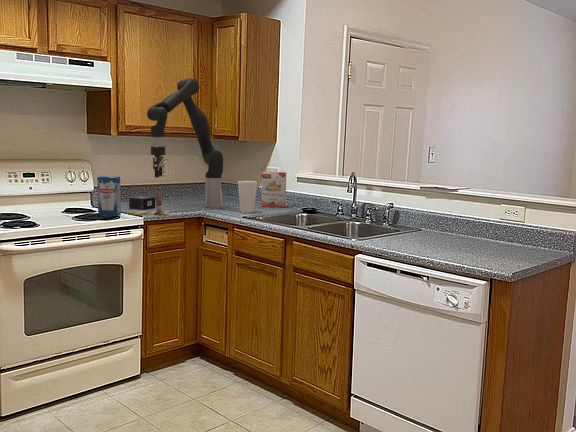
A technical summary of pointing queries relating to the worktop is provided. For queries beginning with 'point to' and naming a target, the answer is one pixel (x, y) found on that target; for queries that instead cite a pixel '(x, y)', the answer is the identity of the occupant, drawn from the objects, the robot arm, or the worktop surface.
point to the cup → (247, 195)
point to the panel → (148, 212)
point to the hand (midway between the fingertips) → (158, 176)
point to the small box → (142, 202)
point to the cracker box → (273, 189)
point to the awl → (158, 203)
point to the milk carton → (109, 196)
